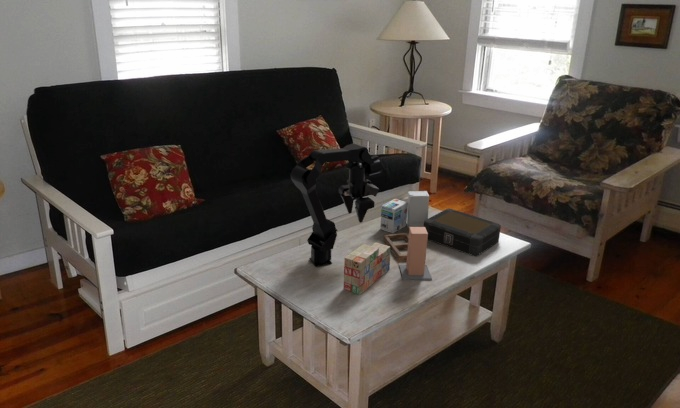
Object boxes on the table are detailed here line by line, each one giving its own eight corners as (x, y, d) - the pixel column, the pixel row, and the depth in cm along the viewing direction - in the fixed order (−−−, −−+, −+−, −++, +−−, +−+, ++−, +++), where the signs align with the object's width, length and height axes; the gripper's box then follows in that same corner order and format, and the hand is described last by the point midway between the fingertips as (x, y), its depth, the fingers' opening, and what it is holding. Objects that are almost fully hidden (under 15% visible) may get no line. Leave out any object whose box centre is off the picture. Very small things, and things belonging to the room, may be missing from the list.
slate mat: (403, 279, 195) (403, 278, 195) (399, 266, 205) (399, 264, 204) (431, 279, 196) (431, 278, 196) (426, 266, 205) (426, 264, 205)
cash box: (419, 238, 227) (421, 220, 225) (446, 223, 242) (448, 207, 239) (475, 258, 212) (477, 240, 209) (500, 241, 227) (502, 224, 224)
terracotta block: (408, 275, 197) (411, 233, 191) (406, 267, 202) (409, 226, 196) (424, 275, 198) (428, 233, 192) (421, 267, 203) (425, 226, 197)
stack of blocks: (374, 265, 205) (376, 234, 201) (389, 269, 202) (391, 238, 198) (343, 289, 188) (344, 256, 184) (359, 295, 185) (360, 262, 181)
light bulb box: (393, 233, 230) (394, 209, 226) (379, 229, 234) (380, 205, 230) (406, 225, 238) (408, 202, 234) (393, 221, 242) (394, 198, 238)
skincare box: (424, 223, 241) (427, 190, 236) (427, 228, 236) (430, 195, 230) (405, 222, 241) (407, 190, 235) (407, 228, 235) (410, 195, 230)
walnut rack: (399, 260, 208) (399, 256, 208) (383, 239, 225) (383, 234, 224) (424, 258, 211) (424, 253, 210) (406, 237, 227) (406, 232, 227)
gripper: (388, 184, 201) (386, 224, 207) (365, 168, 217) (363, 206, 223) (360, 187, 197) (358, 228, 203) (338, 171, 212) (337, 209, 218)
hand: (355, 217), depth 212 cm, fingers open, 9 cm apart
